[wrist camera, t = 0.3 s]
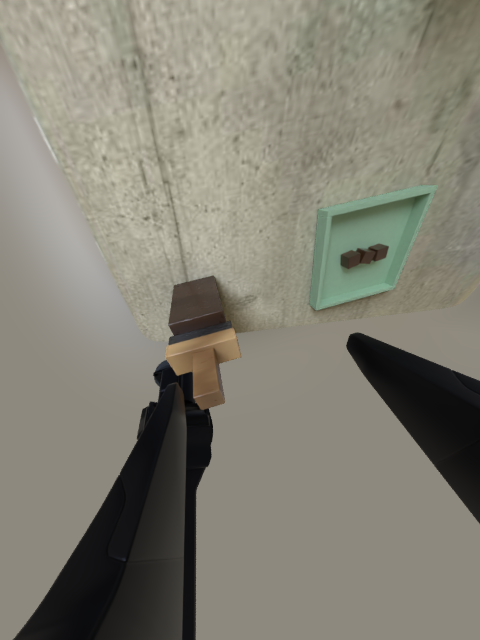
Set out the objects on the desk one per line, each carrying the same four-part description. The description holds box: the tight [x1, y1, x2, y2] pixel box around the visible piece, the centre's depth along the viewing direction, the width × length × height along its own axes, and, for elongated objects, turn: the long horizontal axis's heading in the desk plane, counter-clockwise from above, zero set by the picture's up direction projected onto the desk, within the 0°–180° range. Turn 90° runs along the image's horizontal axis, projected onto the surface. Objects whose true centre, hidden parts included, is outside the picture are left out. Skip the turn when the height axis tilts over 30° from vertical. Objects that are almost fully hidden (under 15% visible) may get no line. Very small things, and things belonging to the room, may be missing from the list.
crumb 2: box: [356, 248, 376, 264], centre depth 24 cm, size 2×2×2 cm
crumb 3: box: [368, 243, 389, 262], centre depth 24 cm, size 2×2×2 cm
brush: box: [165, 321, 241, 410], centre depth 15 cm, size 6×3×7 cm, turn 100°
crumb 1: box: [340, 250, 360, 269], centre depth 24 cm, size 2×2×2 cm
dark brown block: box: [168, 276, 226, 336], centre depth 21 cm, size 5×5×8 cm
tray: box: [309, 185, 438, 311], centre depth 25 cm, size 13×13×2 cm
